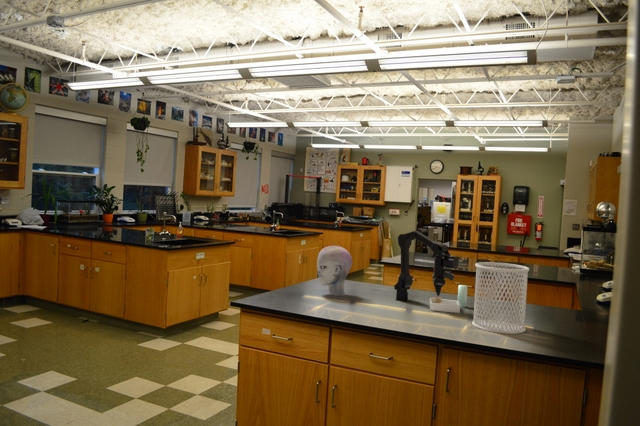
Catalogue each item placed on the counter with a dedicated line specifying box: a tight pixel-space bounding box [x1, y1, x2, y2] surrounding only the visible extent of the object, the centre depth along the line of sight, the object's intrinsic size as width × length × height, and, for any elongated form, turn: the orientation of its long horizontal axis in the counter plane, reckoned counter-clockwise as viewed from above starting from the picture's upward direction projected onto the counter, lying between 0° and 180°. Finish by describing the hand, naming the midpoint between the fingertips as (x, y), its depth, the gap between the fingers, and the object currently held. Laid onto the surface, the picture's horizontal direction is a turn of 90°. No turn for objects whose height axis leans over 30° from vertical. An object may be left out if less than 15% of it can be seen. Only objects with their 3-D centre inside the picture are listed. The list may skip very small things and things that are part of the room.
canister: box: [457, 284, 468, 308], centre depth 270 cm, size 5×5×12 cm
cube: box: [432, 296, 443, 304], centre depth 262 cm, size 5×5×5 cm
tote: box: [429, 297, 461, 314], centre depth 262 cm, size 16×14×4 cm
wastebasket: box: [471, 261, 530, 335], centre depth 228 cm, size 25×25×30 cm
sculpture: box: [316, 245, 353, 296], centre depth 288 cm, size 22×20×30 cm
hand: (437, 294), depth 262 cm, fingers open, 9 cm apart
